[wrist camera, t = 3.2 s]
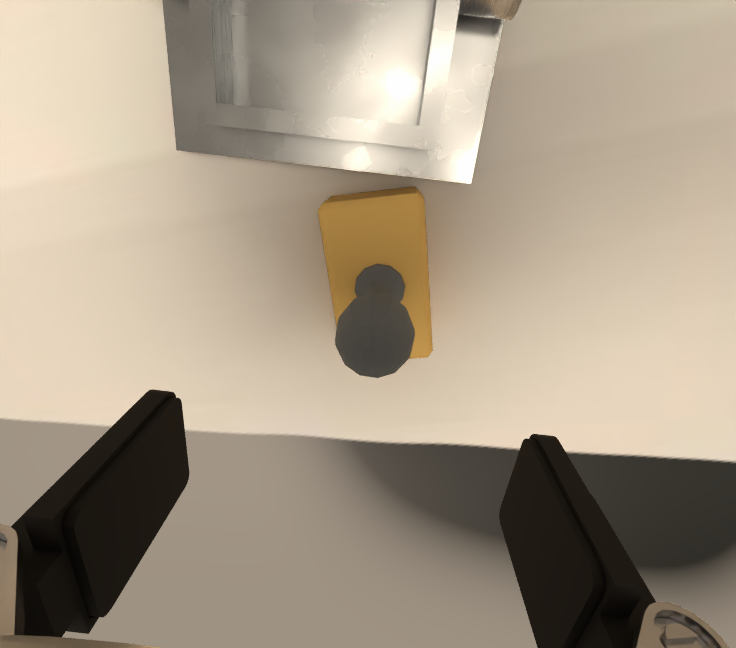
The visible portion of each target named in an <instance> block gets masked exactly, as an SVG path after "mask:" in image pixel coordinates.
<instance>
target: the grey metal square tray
mask: <svg viewBox="0 0 736 648" xmlns="http://www.w3.org/2000/svg"><path fill="white" fill-rule="evenodd" d="M520 3H521V0H163V10H164V20H165V31H166V42H167V52H168V63H169V74H170V84H171V95H172V105H173V116H174V127H175V137H176V148H177V150H181V151H189V152H198V153H207V154H215V155H224V156H233V157H242V158H250V159H259V160H268V161H276V162H285V163H294V164H302V165H311V166H320V167H328V168H337V169H346V170H354V171H363V172H372V173H380V174H389V175H398V176H406V177H415V178H424V179H433V180H441V181H450V182H459V183H467V184H471V181H472V176H473V171H474V166H475V161H476V156H477V152H478V147H479V142H480V137H481V132H482V127H483V122H484V117H485V112H486V107H487V102H488V97H489V92H490V87H491V83H492V78H493V73H494V68H495V63H496V58H497V53H498V48H499V43H500V38H501V33H502V28H503V23H504V20H511V19H512V18H513V17H514V16H515V14H516V12H517V10H518V8H519V5H520Z"/></svg>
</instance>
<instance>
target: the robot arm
mask: <svg viewBox="0 0 736 648" xmlns="http://www.w3.org/2000/svg"><path fill="white" fill-rule="evenodd" d="M188 478H189V466H188V457H187V447H186V438H185V429H184V420H183V411H182V403H181V400H180V399H179V398H176V395H175V394H174V393H173V392H168V391H160V390H149V391H148V392H147V393H146V394H145V395H144V396H143V397H142V398H141V399H140V400H138V401H137V402H136V403H135V404H134V405H133V406H132V407H131V408H130V409H129V410H128V411H127V412H126V413H125V414H124V415H123V416H122V417H121V418H120V419H119V420H118V421H117V422H116V423H115V424H114V425H113V426H112V427H111V428H110V429H109V430H108V431H107V432H106V433H105V434H104V435H103V436H102V437H101V438H100V439H99V440H98V441H97V442H96V443H95V444H94V445H93V446H92V447H91V448H90V449H89V450H88V451H87V452H86V453H85V454H84V455H83V456H82V457H81V458H80V459H79V460H78V461H77V462H76V463H75V464H74V465H73V466H72V467H71V468H70V469H69V470H68V471H67V472H66V473H65V474H64V475H63V476H62V477H61V478H60V479H59V480H58V481H57V482H56V483H55V484H54V485H53V486H52V487H51V488H50V489H48V490H47V492H45V494H43V496H41V497H40V499H38V500H37V501H36V502H35V503H34V504H33V505H32V506H31V507H30V508H29V509H28V510H27V511H26V512H25V513H24V514H23V515H22V516H21V517H20V518H19V519H18V520H17V521H16V522H15V523H14V524H13V525H12V526H11V527H10V526H8V525H3V524H0V648H163V647H154V646H146V645H136V644H128V643H117V642H106V641H95V640H84V639H72V638H62V636H63V634H64V633H65V631H69V632H78V633H87V634H89V632H90V631H91V629H92V627H93V626H94V624H95V623H96V621H97V619H98V618H99V617H104V616H105V615H107V613H108V612H109V611H110V609H111V608H112V607H113V605H114V603H115V602H116V600H117V598H118V597H119V595H120V593H121V592H122V590H123V589H124V587H125V585H126V584H127V582H128V580H129V579H130V577H131V575H132V574H133V572H134V570H135V569H136V567H137V566H138V564H139V562H140V560H141V559H142V557H143V556H144V554H145V552H146V551H147V549H148V547H149V546H150V544H151V543H152V541H153V539H154V538H155V536H156V534H157V533H158V531H159V529H160V528H161V526H162V524H163V523H164V521H165V520H166V518H167V516H168V515H169V513H170V511H171V510H172V508H173V506H174V505H175V503H176V501H177V500H178V498H179V497H180V495H181V493H182V492H183V490H184V488H185V487H186V484H187V482H188ZM499 518H500V524H501V527H502V530H503V534H504V537H505V541H506V544H507V547H508V551H509V554H510V557H511V561H512V564H513V567H514V571H515V574H516V577H517V581H518V583H519V587H520V590H521V594H522V597H523V600H524V604H525V607H526V610H527V614H528V617H529V620H530V624H531V627H532V630H533V633H534V637H535V640H536V644H537V647H538V648H729V647H728V646H727V644H726V643H725V641H724V640H723V639H722V638H721V636H720V635H718V633H717V632H716V631H715V630H714V629H713V628H711V627H710V626H709V625H708V624H707V623H706V622H705V621H703V620H702V619H701V618H699V617H698V616H697V615H695V614H694V613H692V612H690V611H688V610H687V609H684V608H683V607H681V606H678V605H675V604H672V603H669V602H656V601H655V599H654V598H653V596H652V594H651V593H650V591H649V589H648V588H647V586H646V584H645V583H644V581H643V579H642V578H641V576H640V575H639V573H638V571H637V569H636V568H635V566H634V564H633V563H632V561H631V559H630V558H629V556H628V554H627V553H626V551H625V550H624V547H623V546H622V544H621V542H620V541H619V539H618V537H617V536H616V534H615V532H614V531H613V529H612V527H611V526H610V524H609V522H608V521H607V519H606V518H605V515H604V514H603V512H602V510H601V509H600V507H599V505H598V504H597V502H596V500H595V499H594V498H593V496H592V495H591V494H590V493H589V491H588V489H587V488H586V486H585V484H584V483H583V481H582V479H581V477H580V476H579V474H578V473H577V471H576V469H575V467H574V466H573V464H572V462H571V461H570V459H569V457H568V455H567V454H566V452H565V450H564V449H563V447H562V445H561V444H560V442H559V440H558V439H557V438H556V437H554V436H547V435H539V434H532V435H531V436H530V438H529V439H524V440H523V442H522V445H521V448H520V451H519V454H518V457H517V460H516V463H515V466H514V469H513V472H512V475H511V478H510V481H509V484H508V487H507V490H506V493H505V496H504V499H503V501H502V504H501V508H500V513H499Z"/></svg>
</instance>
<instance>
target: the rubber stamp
mask: <svg viewBox="0 0 736 648" xmlns="http://www.w3.org/2000/svg"><path fill="white" fill-rule="evenodd" d="M318 215H319V221H320V227H321V234H322V240H323V246H324V252H325V258H326V264H327V270H328V276H329V282H330V289H331V295H332V301H333V307H334V313H335V319H336V325H337V330H336V338H335V345H336V347H337V349H338V351H339V353H340V355H341V358H342V360H343V362H344V364H345V365H346V366H348V367H349V368H350V369H352V370H353V371H355V372H356V373H357V374H359V375H362V376H368V377H375V378H379V377H382V376H386V375H389V374H392V373H395V372H396V371H397V370H398V369H399V368H400V367H401V366H402V365H403V364H404V363H405V362H406V361H407V360H408V359H410V358H424V357H428V356H429V355H430V353H431V352H432V351H433V350H432V331H431V313H430V295H429V276H428V258H427V240H426V222H425V204H424V197H423V195H422V194H421V192H420V191H419V190H418V189H417V188H415V187H407V188H399V189H390V190H382V191H373V192H364V193H356V194H347V195H339V196H331V197H330V198H329V199H328V200H326V201H325V202H324V203H323V204H322V205H321V206H320V208H319V209H318Z"/></svg>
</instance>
